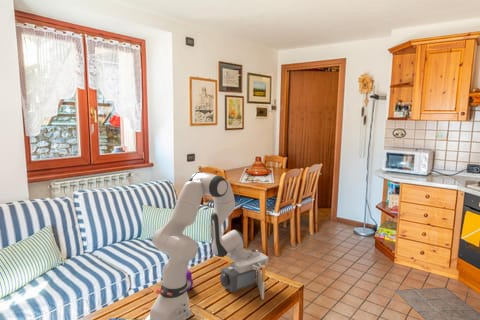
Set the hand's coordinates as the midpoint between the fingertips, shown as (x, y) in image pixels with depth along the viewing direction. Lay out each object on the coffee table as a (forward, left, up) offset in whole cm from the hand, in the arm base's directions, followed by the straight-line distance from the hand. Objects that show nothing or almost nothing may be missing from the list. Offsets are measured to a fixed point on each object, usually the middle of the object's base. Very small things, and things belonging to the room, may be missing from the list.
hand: (260, 269), depth 167 cm
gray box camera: (+6, +15, -15) cm, 23 cm away
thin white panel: (+5, +2, -15) cm, 16 cm away
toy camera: (-12, +40, -16) cm, 45 cm away
